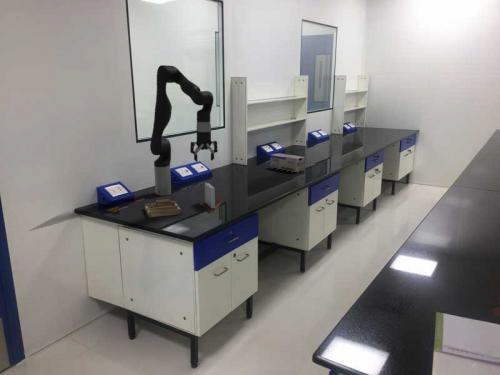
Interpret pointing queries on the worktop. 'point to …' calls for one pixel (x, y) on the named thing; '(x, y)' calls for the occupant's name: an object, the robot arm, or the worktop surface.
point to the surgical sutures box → (287, 162)
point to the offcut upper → (163, 202)
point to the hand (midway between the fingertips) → (204, 160)
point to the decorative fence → (116, 210)
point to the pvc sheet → (209, 195)
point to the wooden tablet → (211, 210)
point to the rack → (162, 210)
